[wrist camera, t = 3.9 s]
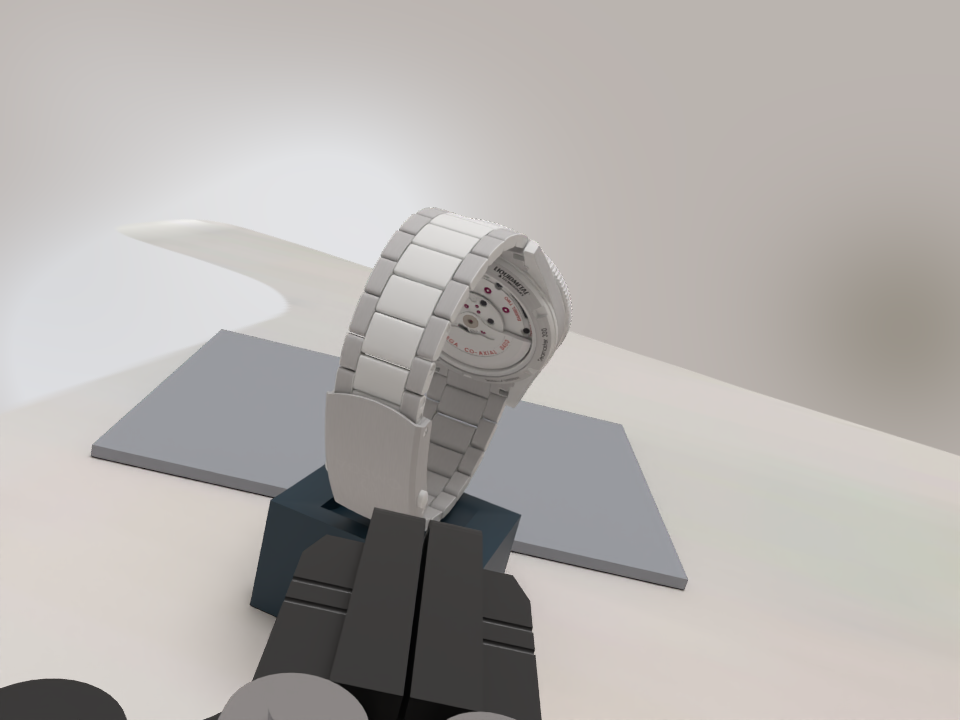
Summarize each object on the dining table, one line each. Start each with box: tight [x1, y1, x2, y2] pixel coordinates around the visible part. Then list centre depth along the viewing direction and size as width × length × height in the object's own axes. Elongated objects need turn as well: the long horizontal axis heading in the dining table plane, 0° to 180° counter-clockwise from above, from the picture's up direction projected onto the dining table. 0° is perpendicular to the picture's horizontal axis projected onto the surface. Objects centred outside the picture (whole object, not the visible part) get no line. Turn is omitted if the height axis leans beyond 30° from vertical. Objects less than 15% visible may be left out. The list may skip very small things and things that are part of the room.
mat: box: [91, 329, 688, 589], centre depth 34 cm, size 20×14×1 cm
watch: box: [250, 207, 572, 617], centre depth 22 cm, size 6×8×11 cm
